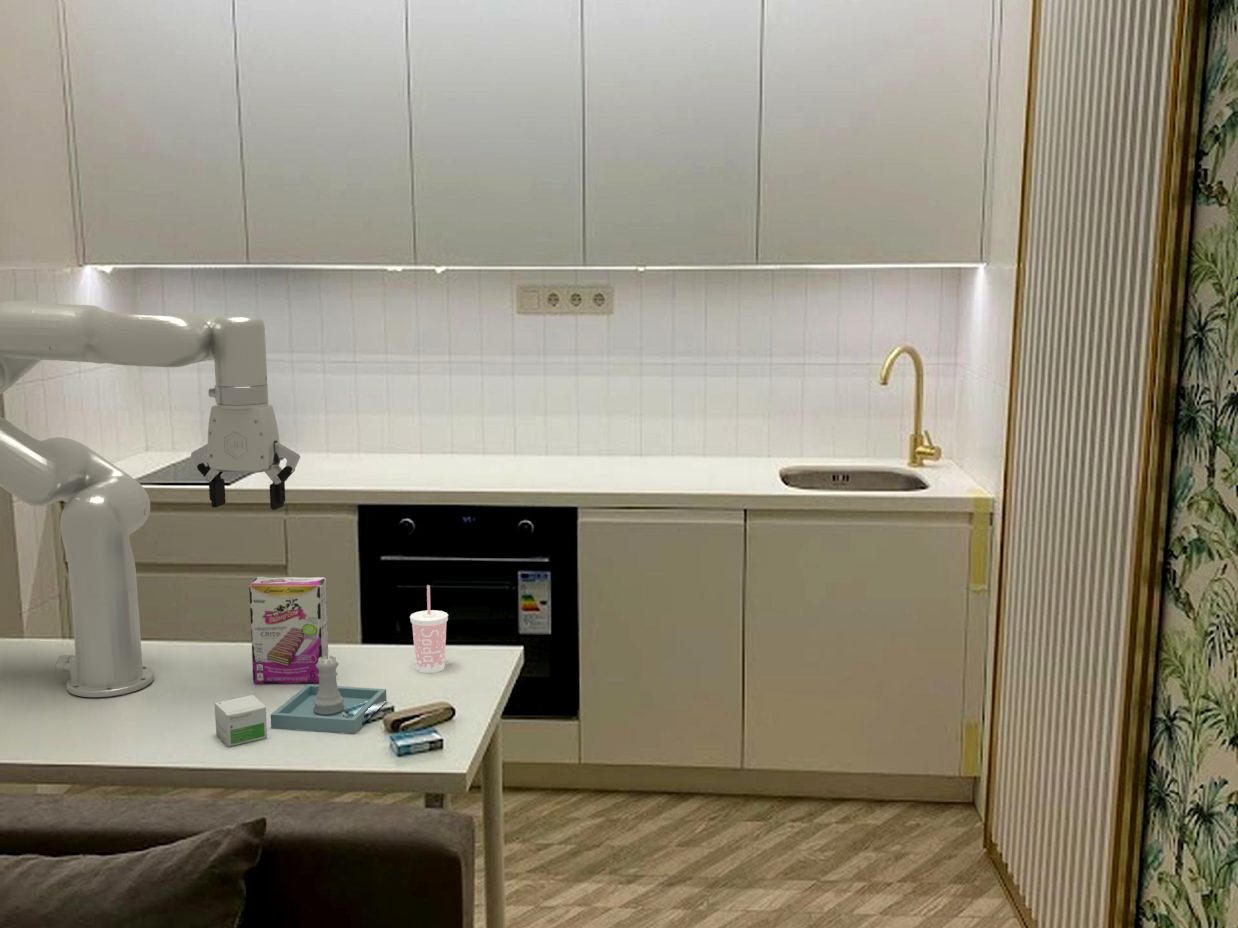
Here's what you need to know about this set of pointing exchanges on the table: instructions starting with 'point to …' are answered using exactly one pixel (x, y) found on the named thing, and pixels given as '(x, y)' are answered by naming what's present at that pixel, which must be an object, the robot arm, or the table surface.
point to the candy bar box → (288, 628)
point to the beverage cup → (429, 638)
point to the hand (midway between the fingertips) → (247, 506)
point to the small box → (240, 720)
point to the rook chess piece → (328, 688)
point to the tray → (303, 716)
